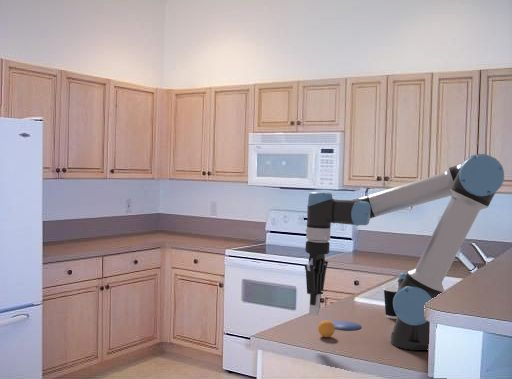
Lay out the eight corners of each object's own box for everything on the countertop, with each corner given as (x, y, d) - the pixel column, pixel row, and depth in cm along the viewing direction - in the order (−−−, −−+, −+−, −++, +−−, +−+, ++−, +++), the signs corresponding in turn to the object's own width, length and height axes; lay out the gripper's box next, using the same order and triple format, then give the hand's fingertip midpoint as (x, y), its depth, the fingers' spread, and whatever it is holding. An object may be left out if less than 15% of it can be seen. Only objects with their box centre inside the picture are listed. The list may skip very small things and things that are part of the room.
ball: (337, 338, 187) (338, 321, 187) (324, 340, 185) (324, 323, 185) (328, 333, 192) (328, 317, 192) (314, 335, 190) (315, 319, 189)
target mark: (368, 328, 201) (368, 327, 201) (341, 331, 195) (341, 331, 195) (347, 320, 211) (347, 319, 211) (321, 323, 206) (321, 322, 206)
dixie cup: (377, 316, 219) (378, 287, 219) (391, 313, 224) (392, 286, 223) (393, 320, 213) (394, 291, 212) (407, 318, 217) (408, 289, 217)
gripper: (315, 237, 187) (311, 308, 188) (298, 241, 176) (294, 316, 176) (336, 240, 183) (332, 312, 184) (320, 243, 172) (316, 320, 173)
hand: (313, 314), depth 180 cm, fingers closed
